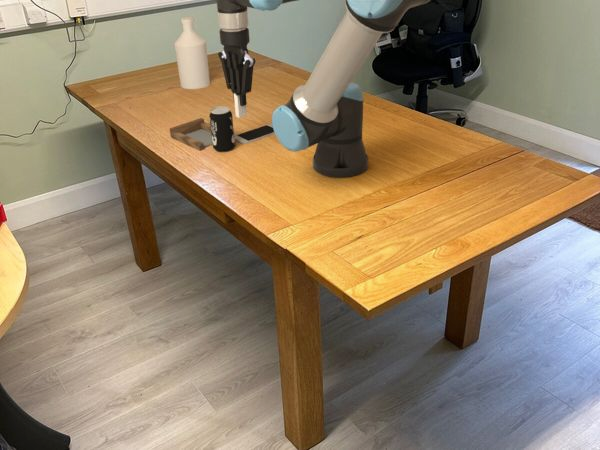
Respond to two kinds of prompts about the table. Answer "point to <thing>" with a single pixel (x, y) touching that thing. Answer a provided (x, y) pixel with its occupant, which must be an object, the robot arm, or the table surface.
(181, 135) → the walnut U-rest
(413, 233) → the table surface
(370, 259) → the table surface
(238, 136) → the smartphone
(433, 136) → the table surface
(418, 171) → the table surface
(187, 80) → the bottle
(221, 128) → the beverage can
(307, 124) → the robot arm
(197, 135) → the grey rubber pad
